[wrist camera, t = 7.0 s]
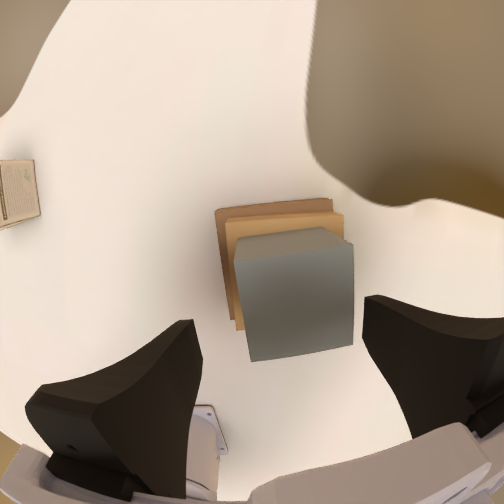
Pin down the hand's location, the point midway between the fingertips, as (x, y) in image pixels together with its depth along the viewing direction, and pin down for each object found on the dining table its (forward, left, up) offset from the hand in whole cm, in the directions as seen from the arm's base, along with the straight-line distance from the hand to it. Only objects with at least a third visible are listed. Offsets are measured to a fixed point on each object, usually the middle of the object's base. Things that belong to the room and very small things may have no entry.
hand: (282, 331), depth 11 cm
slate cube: (0, -1, -6) cm, 6 cm away
